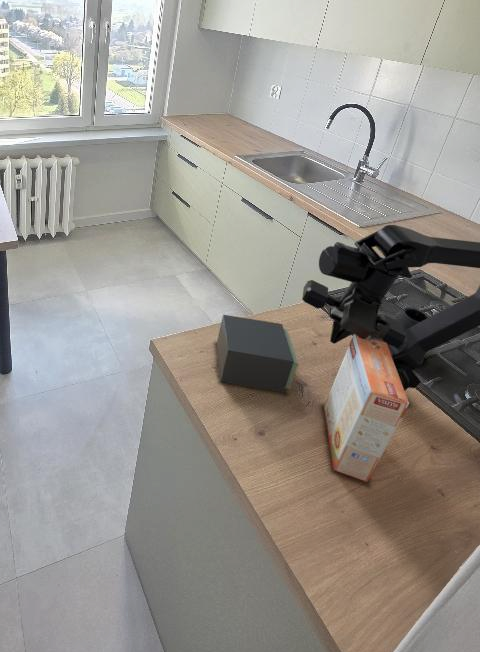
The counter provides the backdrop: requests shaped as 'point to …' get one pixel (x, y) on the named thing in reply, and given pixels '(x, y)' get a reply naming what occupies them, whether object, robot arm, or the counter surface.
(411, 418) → the counter surface
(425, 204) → the counter surface
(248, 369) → the cabinet
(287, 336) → the drawer
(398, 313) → the mug
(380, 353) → the cracker box
